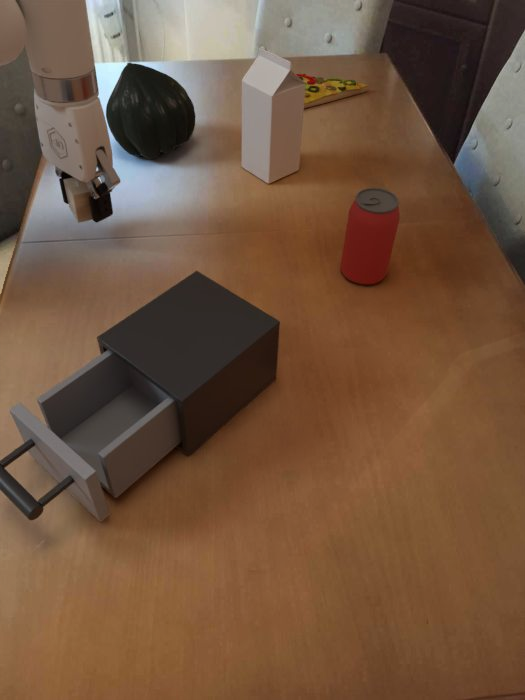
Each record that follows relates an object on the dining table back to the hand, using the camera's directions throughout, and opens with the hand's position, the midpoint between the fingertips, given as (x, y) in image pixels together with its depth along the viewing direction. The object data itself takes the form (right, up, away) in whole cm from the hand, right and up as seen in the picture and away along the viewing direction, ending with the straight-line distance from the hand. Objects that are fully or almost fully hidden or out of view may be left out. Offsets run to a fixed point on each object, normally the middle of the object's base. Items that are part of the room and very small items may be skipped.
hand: (88, 207), depth 86 cm
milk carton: (+26, +11, +17) cm, 33 cm away
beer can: (+39, -9, -1) cm, 41 cm away
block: (0, 0, 0) cm, 1 cm away
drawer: (+8, -32, -24) cm, 41 cm away
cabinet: (+17, -25, -16) cm, 34 cm away
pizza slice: (+37, +32, +38) cm, 62 cm away
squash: (+6, +16, +21) cm, 27 cm away
